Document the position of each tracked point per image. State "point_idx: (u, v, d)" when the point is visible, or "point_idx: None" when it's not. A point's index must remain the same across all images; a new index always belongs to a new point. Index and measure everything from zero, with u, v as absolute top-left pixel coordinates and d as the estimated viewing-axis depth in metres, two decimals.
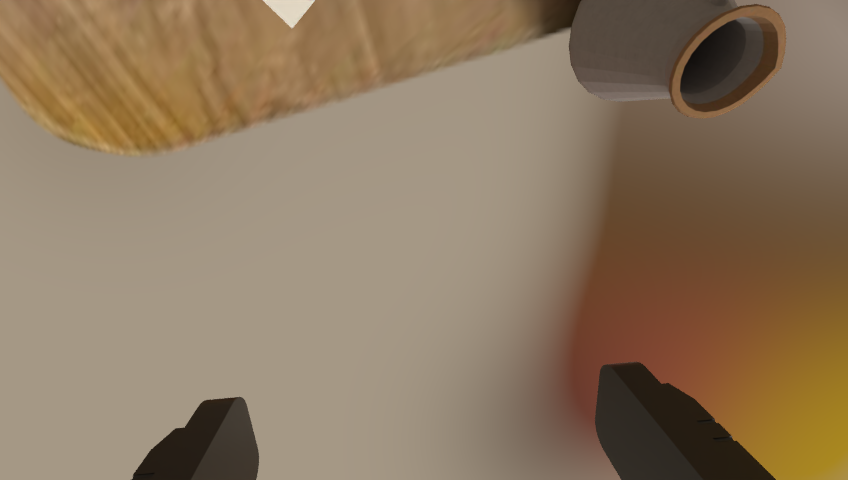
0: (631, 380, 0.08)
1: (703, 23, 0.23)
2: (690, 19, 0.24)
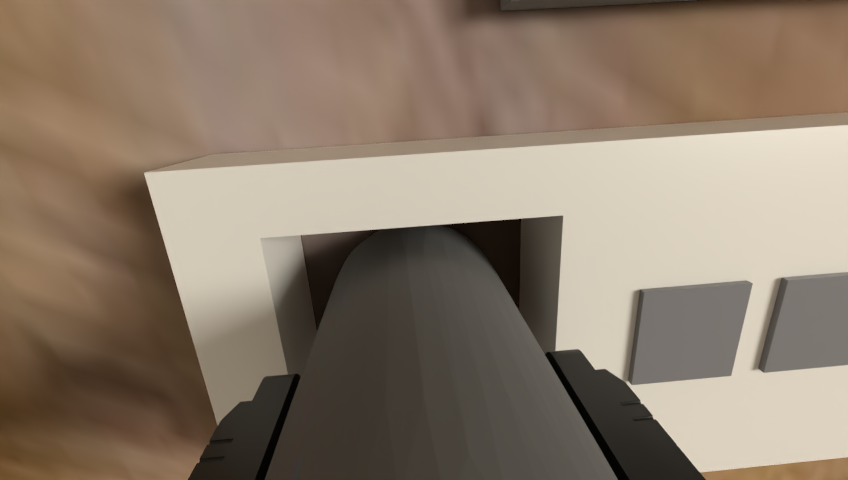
0: (567, 365, 0.08)
1: None
2: None
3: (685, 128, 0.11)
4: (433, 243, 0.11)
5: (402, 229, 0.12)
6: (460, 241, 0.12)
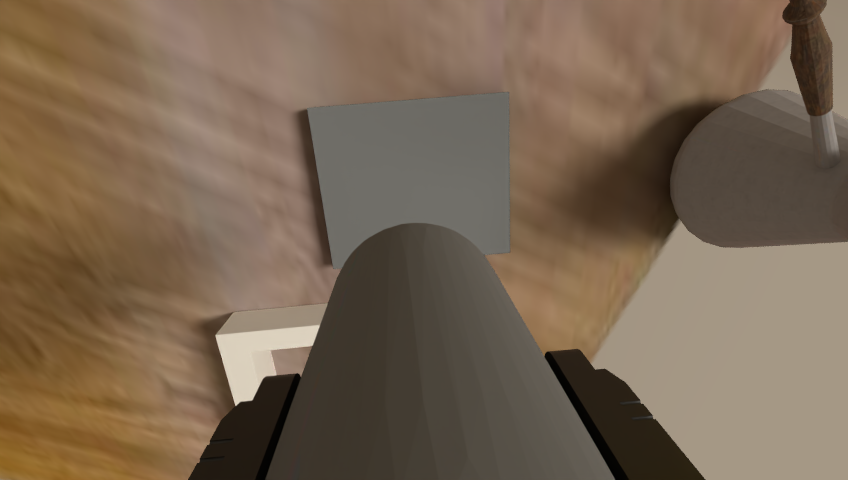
0: (567, 365, 0.08)
1: (844, 201, 0.20)
2: (820, 197, 0.22)
3: None
4: (433, 244, 0.11)
5: (402, 230, 0.12)
6: (460, 242, 0.12)
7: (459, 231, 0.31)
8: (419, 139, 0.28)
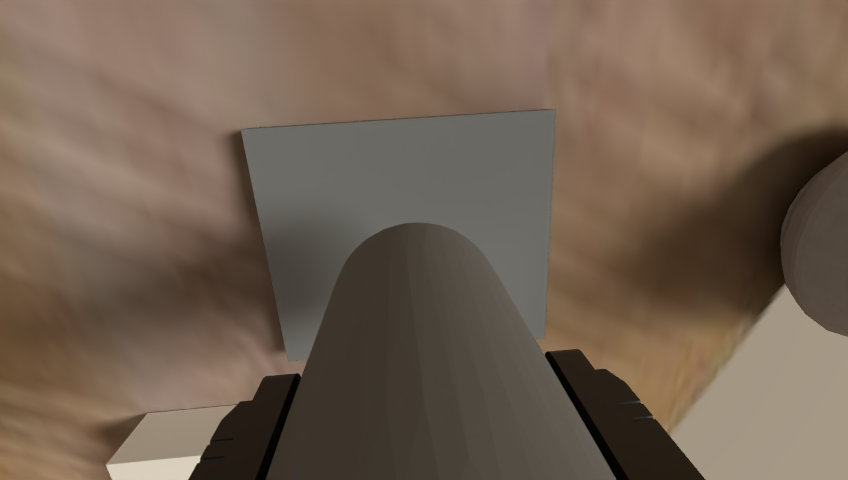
0: (567, 365, 0.08)
1: None
2: None
3: None
4: (433, 244, 0.11)
5: (402, 230, 0.12)
6: (460, 242, 0.12)
7: None
8: (416, 179, 0.18)
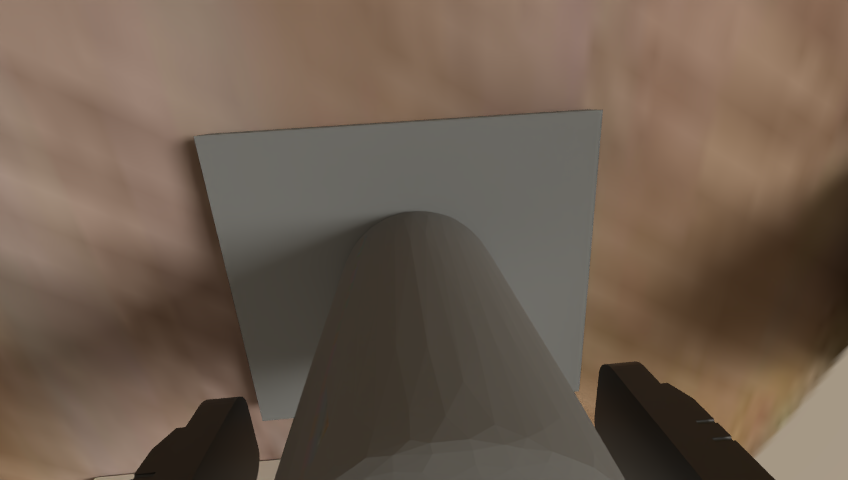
0: (630, 380, 0.08)
1: None
2: None
3: None
4: (434, 229, 0.12)
5: (406, 217, 0.14)
6: (459, 228, 0.13)
7: None
8: (422, 199, 0.14)
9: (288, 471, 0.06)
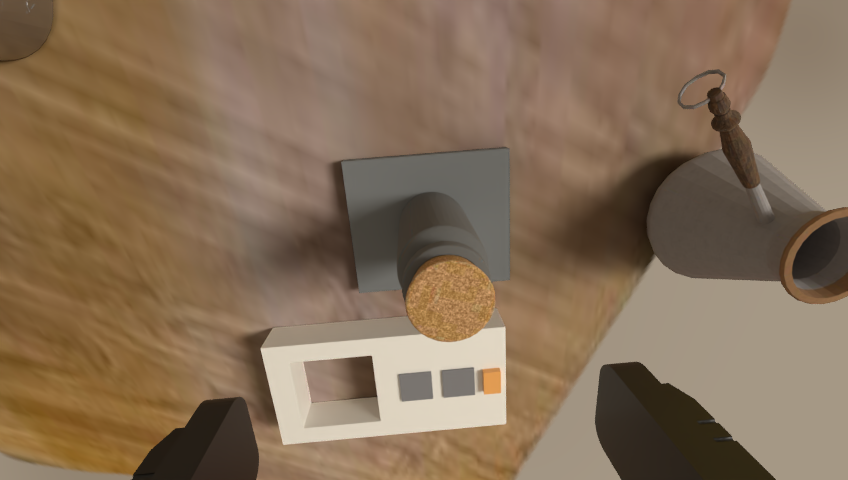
0: (631, 380, 0.08)
1: (775, 252, 0.26)
2: (759, 246, 0.27)
3: None
4: (438, 197, 0.32)
5: (427, 194, 0.33)
6: (449, 197, 0.32)
7: None
8: (434, 186, 0.34)
9: (405, 240, 0.25)
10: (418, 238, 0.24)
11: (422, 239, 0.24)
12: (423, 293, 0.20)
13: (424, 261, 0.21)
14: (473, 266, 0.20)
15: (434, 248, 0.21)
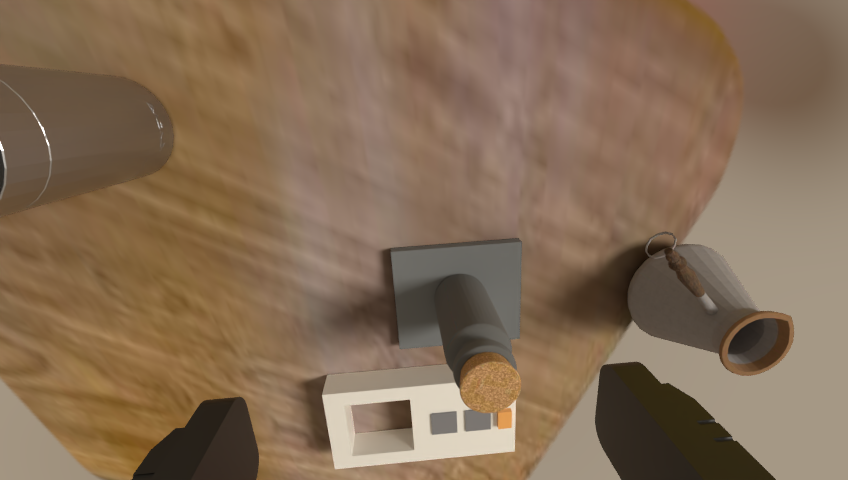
0: (631, 380, 0.08)
1: (717, 337, 0.35)
2: (707, 331, 0.36)
3: (443, 373, 0.46)
4: (468, 282, 0.41)
5: (457, 277, 0.42)
6: (475, 281, 0.42)
7: None
8: (462, 269, 0.43)
9: (451, 332, 0.34)
10: (462, 333, 0.33)
11: (465, 334, 0.33)
12: (472, 383, 0.29)
13: (470, 356, 0.31)
14: (507, 365, 0.29)
15: (478, 347, 0.31)
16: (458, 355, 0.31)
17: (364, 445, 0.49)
